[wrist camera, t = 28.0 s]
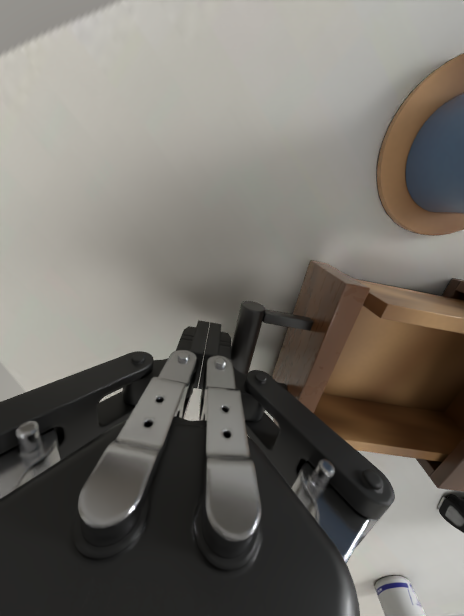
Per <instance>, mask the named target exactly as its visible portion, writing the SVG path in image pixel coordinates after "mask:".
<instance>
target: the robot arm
mask: <svg viewBox="0 0 464 616" xmlns="http://www.w3.org/2000/svg"><path fill="white" fill-rule="evenodd" d="M208 328H209V333H208ZM207 333H208V338H207ZM206 339H207V343H206ZM205 345H206V349H205ZM204 350H205V354H204ZM203 356H204V360H203ZM202 361H203V366H202ZM201 366H202V371H201ZM200 372H201V377H200ZM199 377H200V383H199V388H198V389H202V392H201V398H200V407H199V421H188V420H185V419H184V418H185V414H186V411H187V408H188V405H189V402H190V398H191V395H192V393H193V388H197V387H198V382H199ZM121 388H123V391H122V392H120V393H118V394H116V395H114V396H112V397H110V398H108V399H106V400H104V401H102V402H100V403H99V401H100V400H101V399H102V398H103V397H105V396H106V395H108V394H110V393H112V392H114V391H117V390H119V389H121ZM265 410H266V411H267V412H268V413H269V414H270V415H271V416H272V417H273V418H274V419H275V420H276V421H277V423H278V425H279V427H278V426H277V425H276V424H275V423H274V422H273V421H272V420H271V419H270V418H269V417H268V416H267V415H266V414H265V412H264V411H265ZM247 435H248V436H249V437H250V438H249V437H248V436H247ZM291 488H292V489H291ZM394 498H395V495H394V490H393V488H392V486H391V484H390V482H389V480H388V479H387V478H386V476H385V475H384V474H383V473H382V472H381V471H380V470H379V469H377V468H376V467H375V466H374V465H373V464H372V463H370V462H369V461H368V460H367V459H366V458H365V457H364V456H362V455H361V454H360V453H359V452H358V451H357V450H355V449H354V448H353V447H352V446H351V445H350V444H348V443H347V442H346V441H345V440H344V439H343V438H342V437H340V436H339V435H338V434H337V433H336V432H335V431H333V430H332V429H331V428H330V427H329V426H328V425H326V424H325V423H324V422H323V421H322V420H321V419H319V418H318V417H317V416H316V415H315V414H314V413H313V412H311V411H310V410H309V409H308V408H307V407H306V406H304V405H303V404H302V403H301V402H300V401H299V400H297V399H296V398H295V397H294V396H293V395H292V394H291V393H289V392H288V391H287V390H286V389H285V388H284V387H282V386H281V385H280V384H279V383H278V382H277V381H275V380H274V379H273V378H272V377H271V376H270V375H268V374H267V373H265V372H263V371H259V370H253V371H250V372H249V373H248V374H247V375H246V374H244V373H241V372H239V371H238V370H236V369H235V368H234V367H233V363H232V361H231V337H230V335H229V334H228V333H226V332H221V324H217V323H211V322H210V327H209V322H205V321H199V320H198V323H197V327H190V326H189V327H187V328H186V329H184V331H183V334H182V336H181V339H180V341H179V344H178V346H177V349H176V351H174V352H173V353H171V355H170V356H169V358H168V359H164V360H153V357H152V356H151V355H150V354H149V353H146V352H140V351H139V352H132V353H129V354H126V355H124V356H121V357H119V358H116V359H113V360H111V361H108V362H105V363H103V364H100V365H97V366H95V367H92V368H89V369H87V370H84V371H81V372H79V373H76V374H74V375H71V376H68V377H66V378H63V379H60V380H58V381H55V382H52V383H50V384H47V385H44V386H42V387H39V388H36V389H34V390H31V391H28V392H26V393H23V394H21V395H18V396H15V397H13V398H10V399H7V400H5V401H2V402H0V616H360V611H359V603H358V598H357V594H356V590H355V586H354V583H353V580H352V577H351V574H350V572H349V569H348V567H347V565H346V563H347V561H348V560H349V558H350V556H351V554H352V553H353V551H354V549H355V548H356V547H357V546H358V545H359V543H360V542H361V541H362V540H363V538H364V537H365V536H366V535H367V533H368V532H369V531H370V530H371V529H372V527H373V526H374V525H375V524H376V523H377V521H378V520H379V519H380V518H381V516H382V515H383V514H384V513H385V512H386V510H387V509H388V508H389V507H390V505H391V504H392V503H393V501H394Z"/></svg>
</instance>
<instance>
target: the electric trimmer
mask: <svg viewBox="0 0 464 616" xmlns="http://www.w3.org/2000/svg"><path fill="white" fill-rule="evenodd" d="M438 509H439V512H440V514H441V515H442V517H443V518H444V519H445V520H446V521H447V522H449V523H450V524H451V525H453V526H454V527H455V528H457V529H459V530H460V531H462V532H463V533H464V500H461V499H460V498H458V497H457V496H454V495H449V496H448V497H447V498H445V497H444V496H443V498H442V499H441V503H440V505H439V506H438Z"/></svg>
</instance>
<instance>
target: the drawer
mask: <svg viewBox="0 0 464 616" xmlns="http://www.w3.org/2000/svg"><path fill="white" fill-rule="evenodd" d="M262 321H263V322H264V323H269V324H274V325H280V326H286V327H288V330H287V333H286V336H285V339H284V342H283V345H282V348H281V351H280V354H279V357H278V360H277V363H276V366H275V369H274V372H273V375H272V378H273V379H274V380H275V381H277V382H278V383H279V384H280V385H281V386H282V387H284V388H285V389H286V390H287V391H288V392H289V393H291V394H292V395H293V396H294V397H295V398H296V399H297V400H299V401H300V402H301V403H302V404H303V405H304V406H306V407H307V408H308V409H309V410H310V411H311V412H313V413H314V414H315V415H316V416H317V417H318V418H319V419H321V420H322V421H323V422H324V423H325V424H326V425H328V426H329V427H330V428H331V429H332V430H333V431H335V432H336V433H337V434H338V435H339V436H340V437H342V438H343V439H344V440H345V441H346V442H347V443H348V444H350V445H351V446H352V447H353V448H354V449H355V450H359V451H367V452H374V453H381V454H388V455H396V456H403V457H410V458H417V459H425V460H432V461H439V462H443V461H444V460H445V459H446V458H447V456H448V455H449V454H450V453H451V452H452V451H453V449H454V448H455V447H456V446H457V445H458V444H459V442H460V441H461V440H462V439H463V438H464V300H459V299H454V298H448V297H443V296H438V295H433V294H428V293H423V292H418V291H413V290H408V289H403V288H398V287H393V286H388V285H383V284H378V283H372V282H367V281H362V280H357V279H353V278H351V277H350V276H348V275H346V274H344V273H343V272H341V271H339V270H337V269H336V268H334V267H332V266H330V265H329V264H327V263H322V262H317V261H312V260H311V261H310V263H309V266H308V269H307V272H306V275H305V278H304V281H303V284H302V287H301V290H300V293H299V296H298V299H297V303H296V306H295V309H294V312H293V314H287V313H282V312H276V311H271V310H265V307H264V306H263V305H261V304H259V303H257V302H253V301H244V302H242V303H241V306H240V311H239V315H238V320H237V324H236V328H235V333H234V337H233V342H232V346H231V361H232V363H233V367H234V368H235V369H236V370H238V371H239V372H241V373H244V374H246V375H247V374H248V371H249V368H250V364H251V361H252V357H253V353H254V350H255V346H256V342H257V339H258V335H259V332H260V328H261V324H262ZM273 420H274V423H275V424H276V425H277V426H278V427H279V425H278V423H277V421H276V420H275V419H274V418H273Z"/></svg>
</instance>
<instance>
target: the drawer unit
mask: <svg viewBox="0 0 464 616" xmlns="http://www.w3.org/2000/svg"><path fill="white" fill-rule="evenodd" d="M442 296H443V297H448V298H454V299H459V300H464V280H459V279H454V278H452V279H451V281H450V283H449V284H448V286H447V288H446V289H445V291H444V293H443V295H442ZM416 460H417V461H418V462H419V464H420V465H421V466H422V468H423V469H424V470H425V472H426V473H427V474H428V476H429V477H430V478H431V480H432V481H433V483H434V484H435V485H436V487H437V488H441V489H449V490H456V491H464V438H463V439H462V440H461V441H460V442H459V444H458V445H457V446H456V447H455V448H454V449H453V451H452V452H451V453H450V454H449V455H448V456H447V458H446V459H445V460H444V461H443V462H439V461H432V460H425V459H417V458H416Z"/></svg>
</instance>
